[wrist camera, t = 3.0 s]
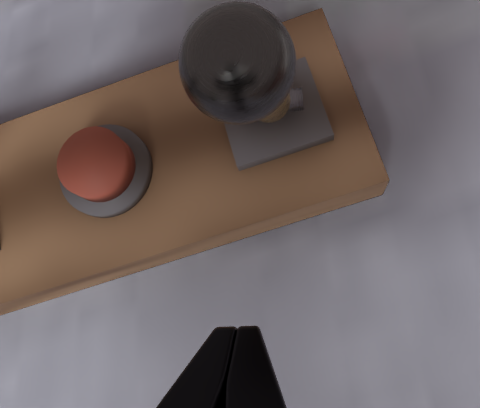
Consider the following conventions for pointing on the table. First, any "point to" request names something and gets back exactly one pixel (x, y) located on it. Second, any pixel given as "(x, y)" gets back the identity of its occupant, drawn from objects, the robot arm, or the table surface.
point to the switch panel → (172, 173)
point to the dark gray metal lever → (240, 65)
